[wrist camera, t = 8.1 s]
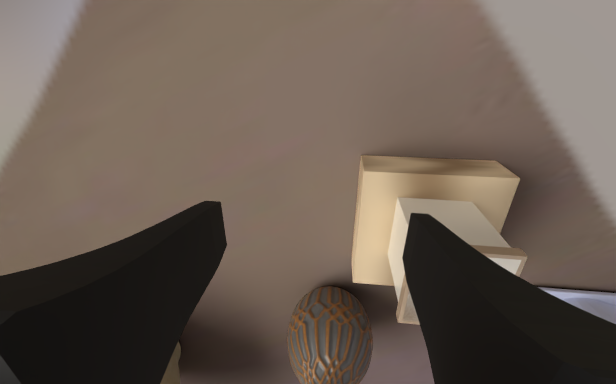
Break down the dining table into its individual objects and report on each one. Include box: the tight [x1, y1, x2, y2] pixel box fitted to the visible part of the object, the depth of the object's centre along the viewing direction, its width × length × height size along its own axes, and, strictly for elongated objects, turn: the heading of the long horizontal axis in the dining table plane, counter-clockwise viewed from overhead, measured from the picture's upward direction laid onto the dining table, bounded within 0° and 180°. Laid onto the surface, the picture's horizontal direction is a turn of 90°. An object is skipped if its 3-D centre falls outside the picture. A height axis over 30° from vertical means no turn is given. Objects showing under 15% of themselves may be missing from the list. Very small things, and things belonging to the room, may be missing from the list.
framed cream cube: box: [388, 197, 528, 325], centre depth 17 cm, size 5×5×6 cm
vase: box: [287, 286, 373, 384], centre depth 23 cm, size 7×7×9 cm
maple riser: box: [352, 155, 520, 286], centre depth 21 cm, size 9×9×3 cm
